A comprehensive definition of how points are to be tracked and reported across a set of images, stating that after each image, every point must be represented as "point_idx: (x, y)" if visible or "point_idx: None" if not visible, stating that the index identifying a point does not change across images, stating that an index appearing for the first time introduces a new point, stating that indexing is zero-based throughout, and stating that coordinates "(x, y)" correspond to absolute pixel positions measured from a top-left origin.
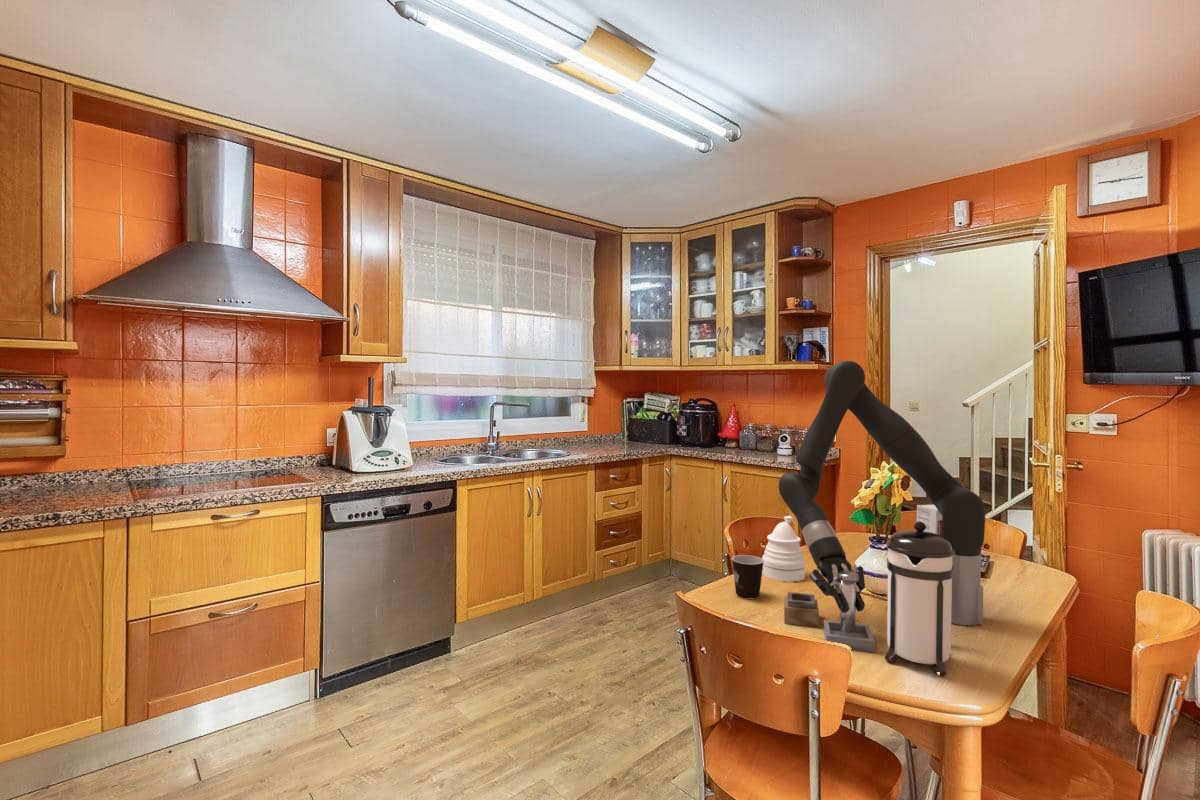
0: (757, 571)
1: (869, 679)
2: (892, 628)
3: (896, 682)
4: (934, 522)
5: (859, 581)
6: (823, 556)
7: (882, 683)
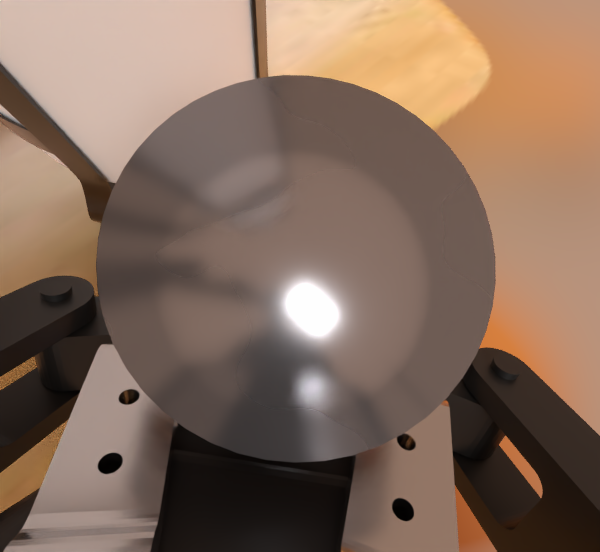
0: None
1: (444, 78)
2: (261, 16)
3: (373, 32)
4: None
5: (24, 341)
6: None
7: (422, 45)
